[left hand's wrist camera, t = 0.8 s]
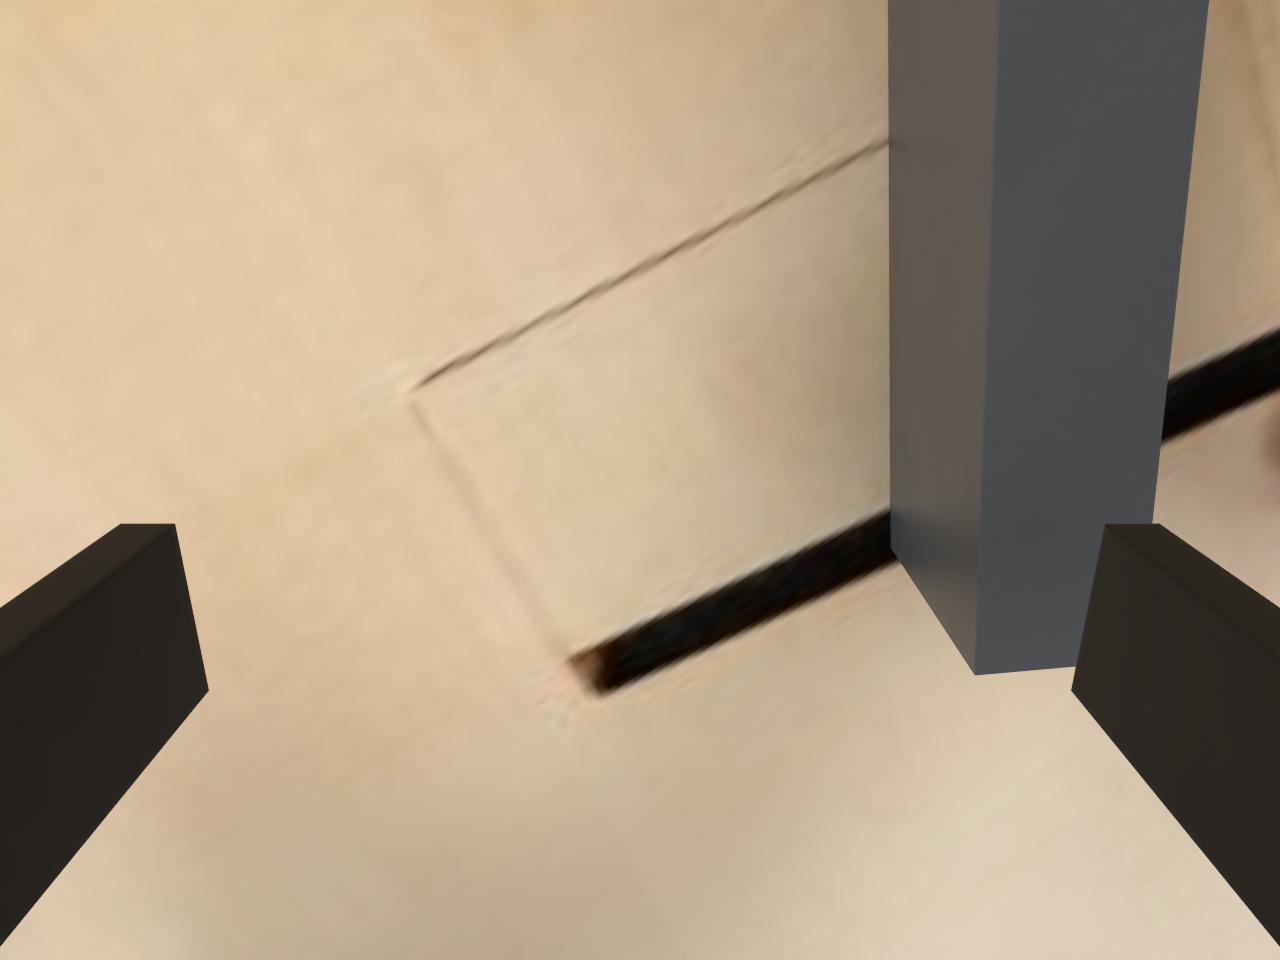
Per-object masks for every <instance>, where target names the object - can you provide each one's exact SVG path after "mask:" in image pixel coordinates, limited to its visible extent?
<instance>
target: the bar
mask: <svg viewBox="0 0 1280 960" xmlns="http://www.w3.org/2000/svg"><path fill="white" fill-rule="evenodd" d="M1208 4H1209V0H888V32H889V264H890V495H891V549H892V550H893V552H894V553H895V555H896V556H897V558H898V559H899V561H900V562H901V564H902V565H903V567H904V568H905V570H906V571H907V573H908V574H909V576H910V577H911V579H912V580H913V582H914V583H915V585H916V587H917V588H918V590H919V591H920V593H921V594H922V596H923V597H924V599H925V600H926V602H927V603H928V605H929V606H930V608H931V609H932V611H933V612H934V614H935V615H936V617H937V618H938V620H939V621H940V623H941V624H942V626H943V628H944V629H945V631H946V632H947V634H948V635H949V637H950V638H951V640H952V641H953V643H954V644H955V646H956V647H957V649H958V650H959V652H960V653H961V655H962V656H963V658H964V659H965V661H966V662H967V664H968V665H969V667H970V669H971V670H972V672H973V673H974V675H985V674H996V673H1007V672H1018V671H1030V670H1041V669H1052V668H1063V667H1075V666H1076V664H1077V659H1078V654H1079V649H1080V644H1081V640H1082V635H1083V630H1084V625H1085V620H1086V615H1087V610H1088V605H1089V600H1090V595H1091V590H1092V585H1093V581H1094V576H1095V571H1096V566H1097V561H1098V556H1099V551H1100V546H1101V541H1102V536H1103V531H1104V526H1105V524H1152V519H1153V510H1154V501H1155V492H1156V483H1157V473H1158V464H1159V455H1160V446H1161V437H1162V427H1163V418H1164V409H1165V400H1166V391H1167V381H1168V372H1169V363H1170V354H1171V345H1172V335H1173V326H1174V317H1175V308H1176V299H1177V289H1178V280H1179V271H1180V262H1181V253H1182V243H1183V234H1184V225H1185V216H1186V207H1187V197H1188V188H1189V179H1190V170H1191V161H1192V151H1193V142H1194V133H1195V124H1196V115H1197V105H1198V96H1199V87H1200V78H1201V69H1202V59H1203V50H1204V41H1205V32H1206V23H1207V13H1208Z"/></svg>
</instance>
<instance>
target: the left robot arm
mask: <svg viewBox="0 0 1280 960" xmlns="http://www.w3.org/2000/svg"><path fill="white" fill-rule="evenodd" d="M208 691H209V689H208V684H207V679H206V674H205V669H204V664H203V659H202V654H201V649H200V644H199V640H198V635H197V630H196V625H195V620H194V615H193V610H192V605H191V600H190V595H189V590H188V585H187V581H186V576H185V571H184V566H183V561H182V556H181V551H180V546H179V541H178V536H177V531H176V526H175V524H120V525H118V526H117V527H115V528H114V529H112V530H111V531H110V532H108V533H107V534H105V535H104V536H102V537H101V538H100V539H98V540H97V541H95V542H94V543H92V544H91V545H90V546H88V547H87V548H85V549H84V550H82V551H81V552H80V553H78V554H77V555H75V556H74V557H72V558H71V559H69V560H68V561H67V562H65V563H64V564H62V565H61V566H59V567H58V568H57V569H55V570H54V571H52V572H51V573H49V574H48V575H47V576H45V577H44V578H42V579H41V580H39V581H38V582H37V583H35V584H34V585H32V586H31V587H29V588H28V589H27V590H25V591H24V592H22V593H21V594H19V595H18V596H16V597H15V598H14V599H12V600H11V601H9V602H8V603H6V604H5V605H4V606H2V607H1V608H0V946H1V945H2V944H3V943H4V941H5V940H6V939H7V938H8V936H9V935H10V934H11V933H12V931H13V930H14V929H15V928H16V927H17V925H18V924H19V923H20V922H21V920H22V919H23V918H24V917H25V916H26V914H27V913H28V912H29V911H30V909H31V908H32V907H33V906H34V904H35V903H36V902H37V901H38V900H39V898H40V897H41V896H42V895H43V893H44V892H45V891H46V890H47V889H48V887H49V886H50V885H51V884H52V882H53V881H54V880H55V879H56V877H57V876H58V875H59V874H60V873H61V871H62V870H63V869H64V868H65V866H66V865H67V864H68V863H69V862H70V860H71V859H72V858H73V857H74V855H75V854H76V853H77V852H78V850H79V849H80V848H81V847H82V846H83V844H84V843H85V842H86V841H87V839H88V838H89V837H90V836H91V835H92V833H93V832H94V831H95V830H96V828H97V827H98V826H99V825H100V823H101V822H102V821H103V820H104V819H105V817H106V816H107V815H108V814H109V812H110V811H111V810H112V809H113V808H114V806H115V805H116V804H117V803H118V801H119V800H120V799H121V798H122V796H123V795H124V794H125V793H126V792H127V790H128V789H129V788H130V787H131V785H132V784H133V783H134V782H135V780H136V779H137V778H138V777H139V776H140V774H141V773H142V772H143V771H144V769H145V768H146V767H147V766H148V765H149V763H150V762H151V761H152V760H153V758H154V757H155V756H156V755H157V753H158V752H159V751H160V750H161V749H162V747H163V746H164V745H165V744H166V742H167V741H168V740H169V739H170V738H171V736H172V735H173V734H174V733H175V731H176V730H177V729H178V728H179V726H180V725H181V724H182V723H183V722H184V720H185V719H186V718H187V717H188V715H189V714H190V713H191V712H192V711H193V709H194V708H195V707H196V706H197V704H198V703H199V702H200V701H201V699H202V698H203V697H204V696H205V695H206V693H207V692H208ZM1071 691H1072V692H1073V693H1074V695H1075V696H1076V697H1077V698H1078V699H1079V701H1080V702H1081V703H1082V704H1083V706H1084V707H1085V708H1086V709H1087V711H1088V712H1089V713H1090V714H1091V715H1092V717H1093V718H1094V719H1095V720H1096V722H1097V723H1098V724H1099V725H1100V726H1101V728H1102V729H1103V730H1104V731H1105V733H1106V734H1107V735H1108V736H1109V738H1110V739H1111V740H1112V741H1113V742H1114V744H1115V745H1116V746H1117V747H1118V749H1119V750H1120V751H1121V752H1122V753H1123V755H1124V756H1125V757H1126V758H1127V760H1128V761H1129V762H1130V763H1131V765H1132V766H1133V767H1134V768H1135V769H1136V771H1137V772H1138V773H1139V774H1140V776H1141V777H1142V778H1143V779H1144V780H1145V782H1146V783H1147V784H1148V785H1149V787H1150V788H1151V789H1152V790H1153V792H1154V793H1155V794H1156V795H1157V796H1158V798H1159V799H1160V800H1161V801H1162V803H1163V804H1164V805H1165V806H1166V808H1167V809H1168V810H1169V811H1170V812H1171V814H1172V815H1173V816H1174V817H1175V819H1176V820H1177V821H1178V822H1179V823H1180V825H1181V826H1182V827H1183V828H1184V830H1185V831H1186V832H1187V833H1188V835H1189V836H1190V837H1191V838H1192V839H1193V841H1194V842H1195V843H1196V844H1197V846H1198V847H1199V848H1200V849H1201V850H1202V852H1203V853H1204V854H1205V855H1206V857H1207V858H1208V859H1209V860H1210V862H1211V863H1212V864H1213V865H1214V866H1215V868H1216V869H1217V870H1218V871H1219V873H1220V874H1221V875H1222V876H1223V877H1224V879H1225V880H1226V881H1227V882H1228V884H1229V885H1230V886H1231V887H1232V889H1233V890H1234V891H1235V892H1236V893H1237V895H1238V896H1239V897H1240V898H1241V900H1242V901H1243V902H1244V903H1245V904H1246V906H1247V907H1248V908H1249V909H1250V911H1251V912H1252V913H1253V914H1254V916H1255V917H1256V918H1257V919H1258V920H1259V922H1260V923H1261V924H1262V925H1263V927H1264V928H1265V929H1266V930H1267V931H1268V933H1269V934H1270V935H1271V936H1272V938H1273V939H1274V940H1275V941H1276V943H1277V944H1278V945H1279V946H1280V608H1279V607H1278V606H1276V605H1275V604H1274V603H1272V602H1271V601H1269V600H1268V599H1266V598H1265V597H1264V596H1262V595H1261V594H1259V593H1258V592H1256V591H1255V590H1253V589H1252V588H1251V587H1249V586H1248V585H1246V584H1245V583H1243V582H1242V581H1241V580H1239V579H1238V578H1236V577H1235V576H1233V575H1232V574H1231V573H1229V572H1228V571H1226V570H1225V569H1223V568H1222V567H1221V566H1219V565H1218V564H1216V563H1215V562H1213V561H1212V560H1211V559H1209V558H1208V557H1206V556H1205V555H1203V554H1202V553H1200V552H1199V551H1198V550H1196V549H1195V548H1193V547H1192V546H1190V545H1189V544H1188V543H1186V542H1185V541H1183V540H1182V539H1180V538H1179V537H1178V536H1176V535H1175V534H1173V533H1172V532H1170V531H1169V530H1168V529H1166V528H1165V527H1163V526H1162V525H1160V524H1105V526H1104V531H1103V536H1102V541H1101V546H1100V551H1099V556H1098V561H1097V566H1096V571H1095V576H1094V581H1093V585H1092V590H1091V595H1090V600H1089V605H1088V610H1087V615H1086V620H1085V625H1084V630H1083V635H1082V640H1081V644H1080V649H1079V654H1078V659H1077V664H1076V669H1075V674H1074V679H1073V684H1072V689H1071Z"/></svg>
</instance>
